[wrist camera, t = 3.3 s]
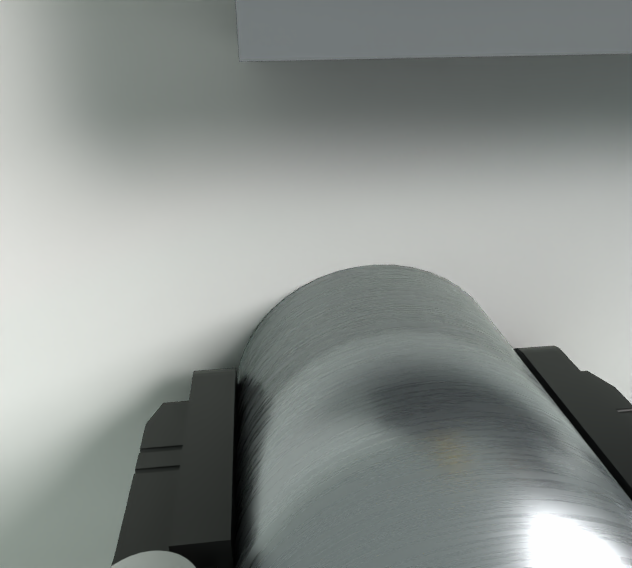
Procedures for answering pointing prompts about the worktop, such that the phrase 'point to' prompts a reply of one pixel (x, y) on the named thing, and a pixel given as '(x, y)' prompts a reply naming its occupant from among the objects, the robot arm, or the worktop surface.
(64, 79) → the worktop surface
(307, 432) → the cylinder
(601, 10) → the scale
